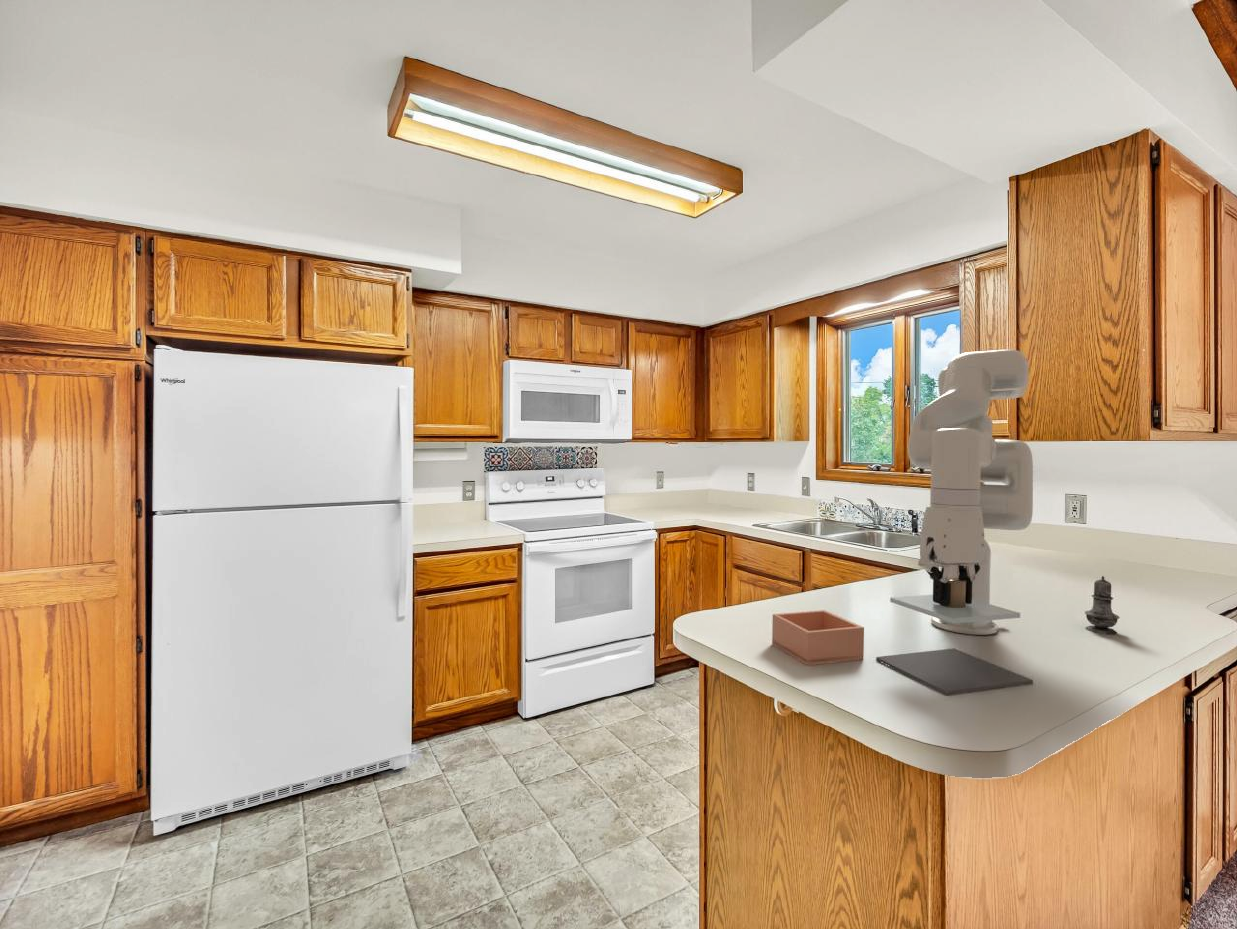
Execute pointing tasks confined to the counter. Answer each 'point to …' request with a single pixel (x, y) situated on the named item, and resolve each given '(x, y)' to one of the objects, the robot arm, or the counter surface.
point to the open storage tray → (818, 637)
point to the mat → (953, 671)
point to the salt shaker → (1102, 609)
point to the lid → (955, 606)
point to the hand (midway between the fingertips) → (952, 601)
